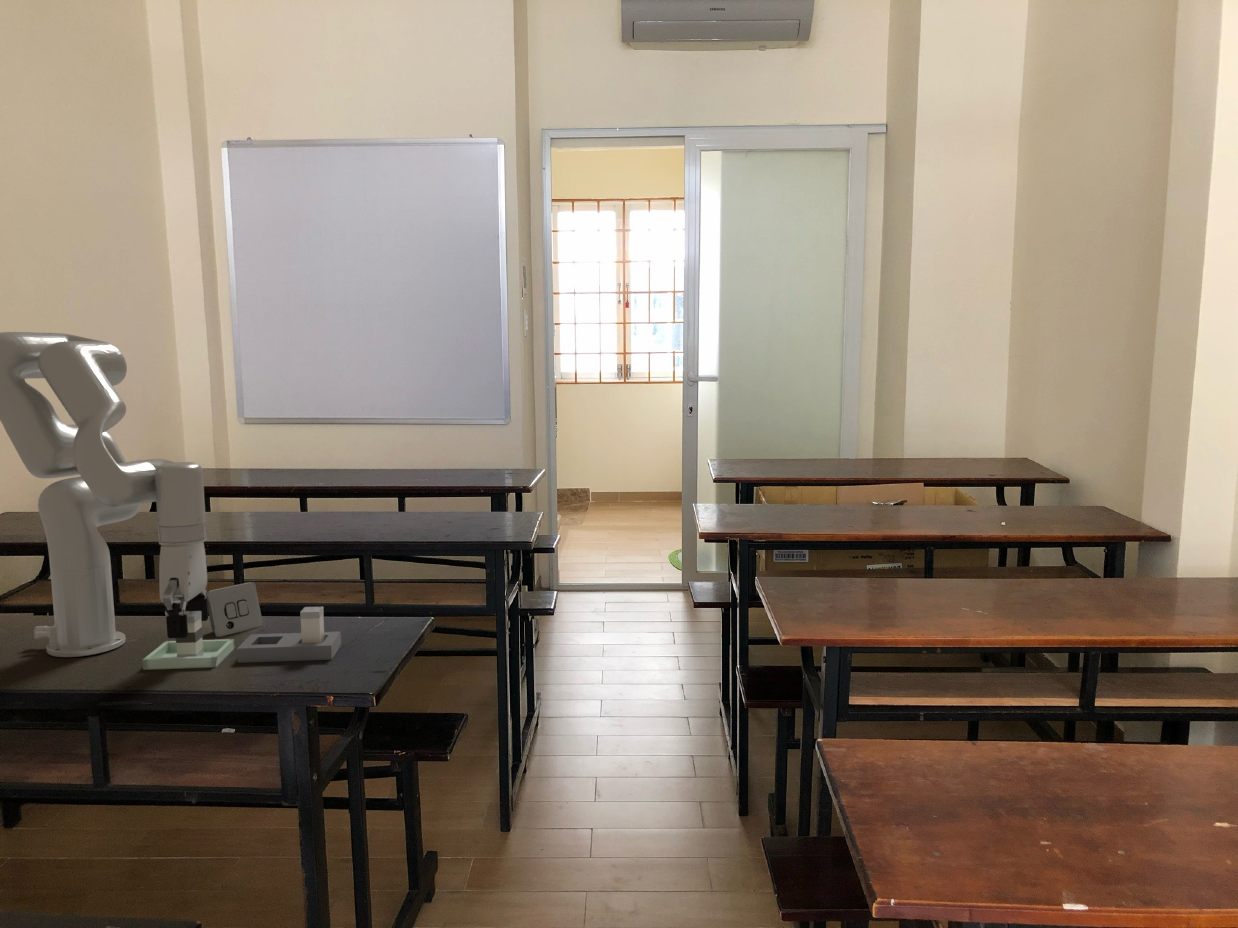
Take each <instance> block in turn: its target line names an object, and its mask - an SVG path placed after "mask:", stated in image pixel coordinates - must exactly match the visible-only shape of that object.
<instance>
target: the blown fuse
mask: <svg viewBox="0 0 1238 928" xmlns="http://www.w3.org/2000/svg"><path fill="white" fill-rule="evenodd" d="M184 614H187V625H188V636H187V637H186V638H175V641H176V643H177V657H199V656H203V655H204V649H203V640H204V638H203V637H204V635H203V634H204V633H203V625H202V622H203V621H201V618H202V615H201V611H188V610H185V613H184Z"/></svg>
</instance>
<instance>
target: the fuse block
mask: <svg viewBox="0 0 1238 928" xmlns="http://www.w3.org/2000/svg"><path fill="white" fill-rule="evenodd" d="M341 646H342V634H341V631H324V642H323V643H302V634H301V632H286V633H285V632H284V633H283V632H280V633H278V632H277V633H251V634H250V635H249V636H248V637H247V638H246V639H245V640H244V641H243V642H242V643H241V644H240V645H239V646H238V647H237V648H236V655H237V663H238V664H239V663H240V664H241V663H263V662H264V663H265V662H267V663H269V662H270V663H271V662H295V661H296V662H297V661H300V662H301V661H321V660H323V661H325V660H333V658H334V656H336V653H338V651H339V649H340V647H341Z"/></svg>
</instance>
